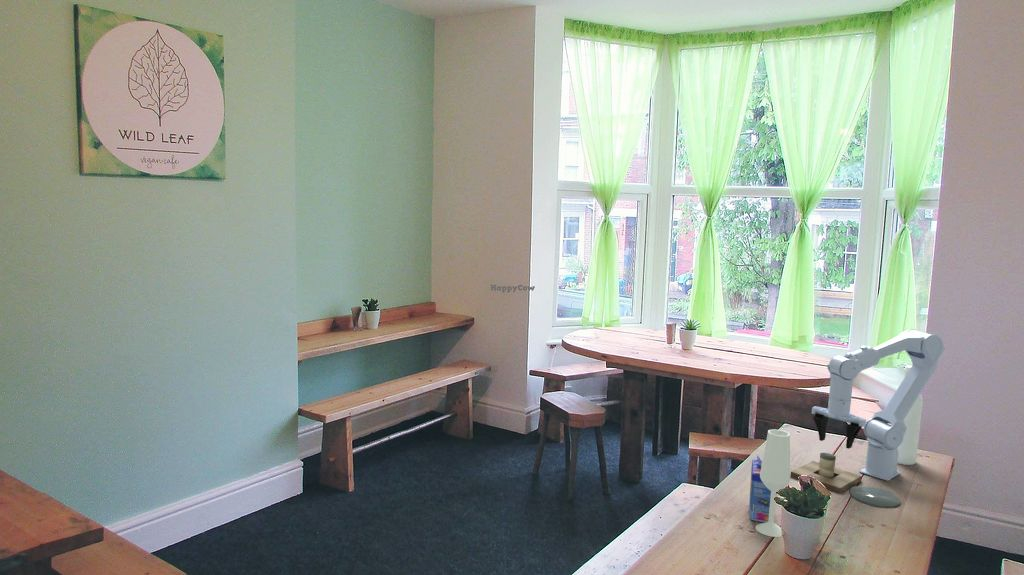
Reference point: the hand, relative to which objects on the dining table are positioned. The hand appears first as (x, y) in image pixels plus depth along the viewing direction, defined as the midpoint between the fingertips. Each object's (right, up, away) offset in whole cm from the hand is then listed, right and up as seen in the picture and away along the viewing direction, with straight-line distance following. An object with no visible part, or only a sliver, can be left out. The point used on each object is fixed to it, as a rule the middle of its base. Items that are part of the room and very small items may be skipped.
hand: (835, 443), depth 196 cm
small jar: (-4, -10, -2) cm, 10 cm away
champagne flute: (-32, -13, -35) cm, 49 cm away
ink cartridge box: (-31, -12, -26) cm, 42 cm away
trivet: (+4, -11, -13) cm, 18 cm away
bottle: (+28, -9, +15) cm, 33 cm away
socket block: (-4, -10, -2) cm, 10 cm away
